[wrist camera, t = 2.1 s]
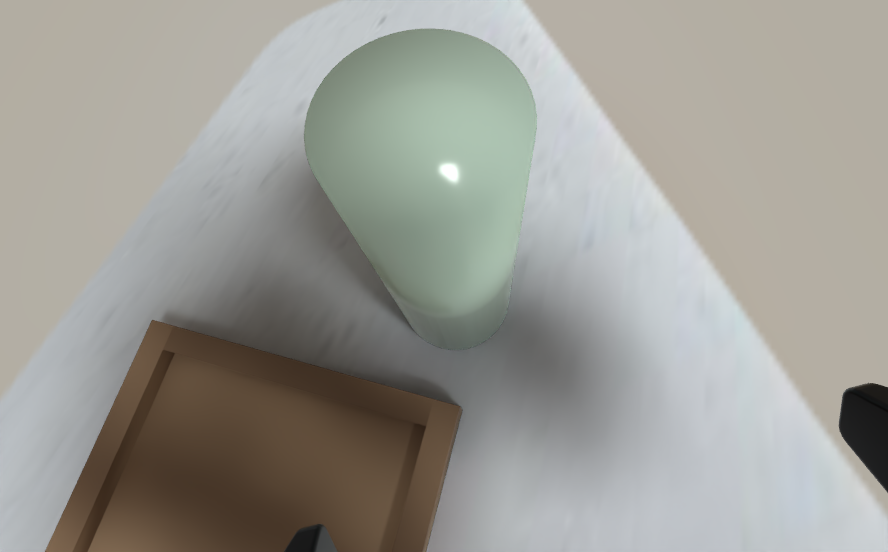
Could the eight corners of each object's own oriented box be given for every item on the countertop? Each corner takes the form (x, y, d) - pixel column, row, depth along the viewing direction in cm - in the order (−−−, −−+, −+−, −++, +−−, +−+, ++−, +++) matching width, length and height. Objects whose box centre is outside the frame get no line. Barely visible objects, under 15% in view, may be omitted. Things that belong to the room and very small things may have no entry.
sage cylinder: (494, 362, 21) (505, 252, 9) (390, 334, 21) (270, 199, 9) (519, 261, 22) (558, 47, 10) (420, 238, 23) (347, 14, 11)
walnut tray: (360, 804, 16) (344, 852, 14) (33, 663, 18) (-19, 689, 16) (462, 409, 20) (459, 406, 18) (180, 330, 22) (152, 319, 20)
